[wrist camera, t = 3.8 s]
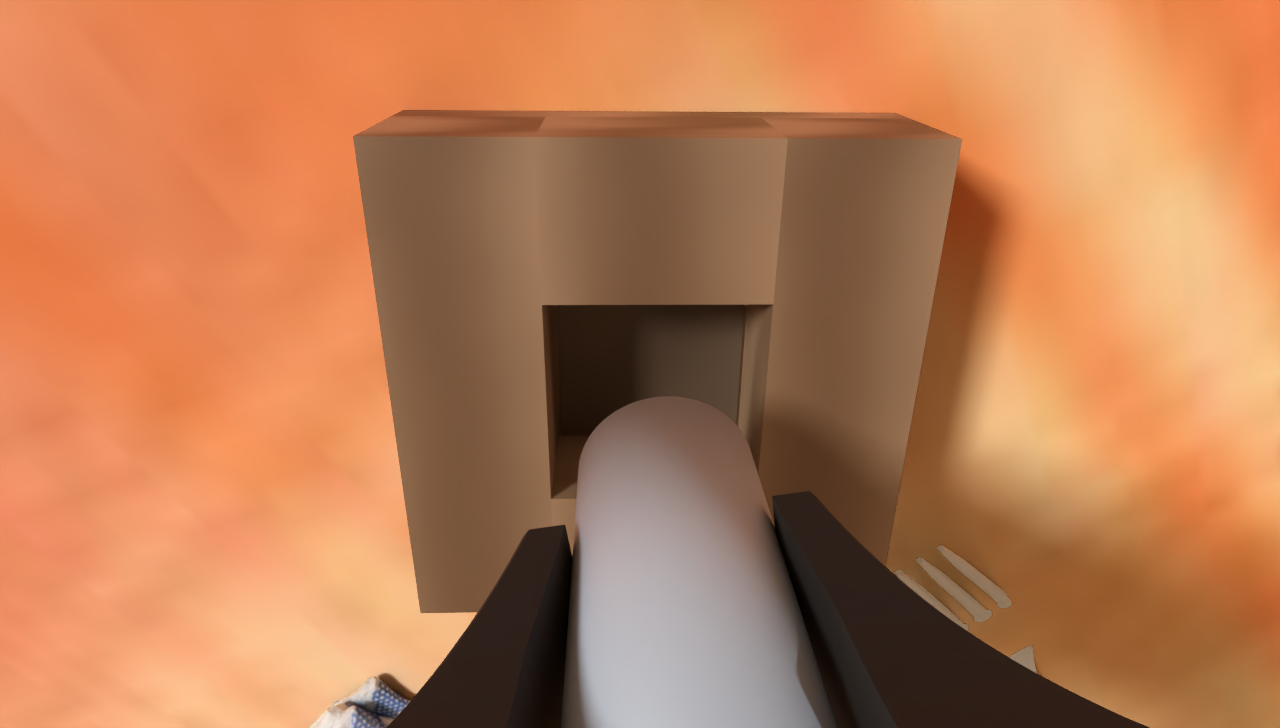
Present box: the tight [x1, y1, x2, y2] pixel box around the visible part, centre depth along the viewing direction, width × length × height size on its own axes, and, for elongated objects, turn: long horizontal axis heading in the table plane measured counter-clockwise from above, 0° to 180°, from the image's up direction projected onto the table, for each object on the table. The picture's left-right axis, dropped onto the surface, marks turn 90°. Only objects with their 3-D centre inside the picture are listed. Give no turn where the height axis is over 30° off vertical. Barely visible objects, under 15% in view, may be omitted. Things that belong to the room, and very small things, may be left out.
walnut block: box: [353, 110, 962, 613], centre depth 20 cm, size 12×12×4 cm
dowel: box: [561, 396, 837, 728], centre depth 11 cm, size 3×3×8 cm
